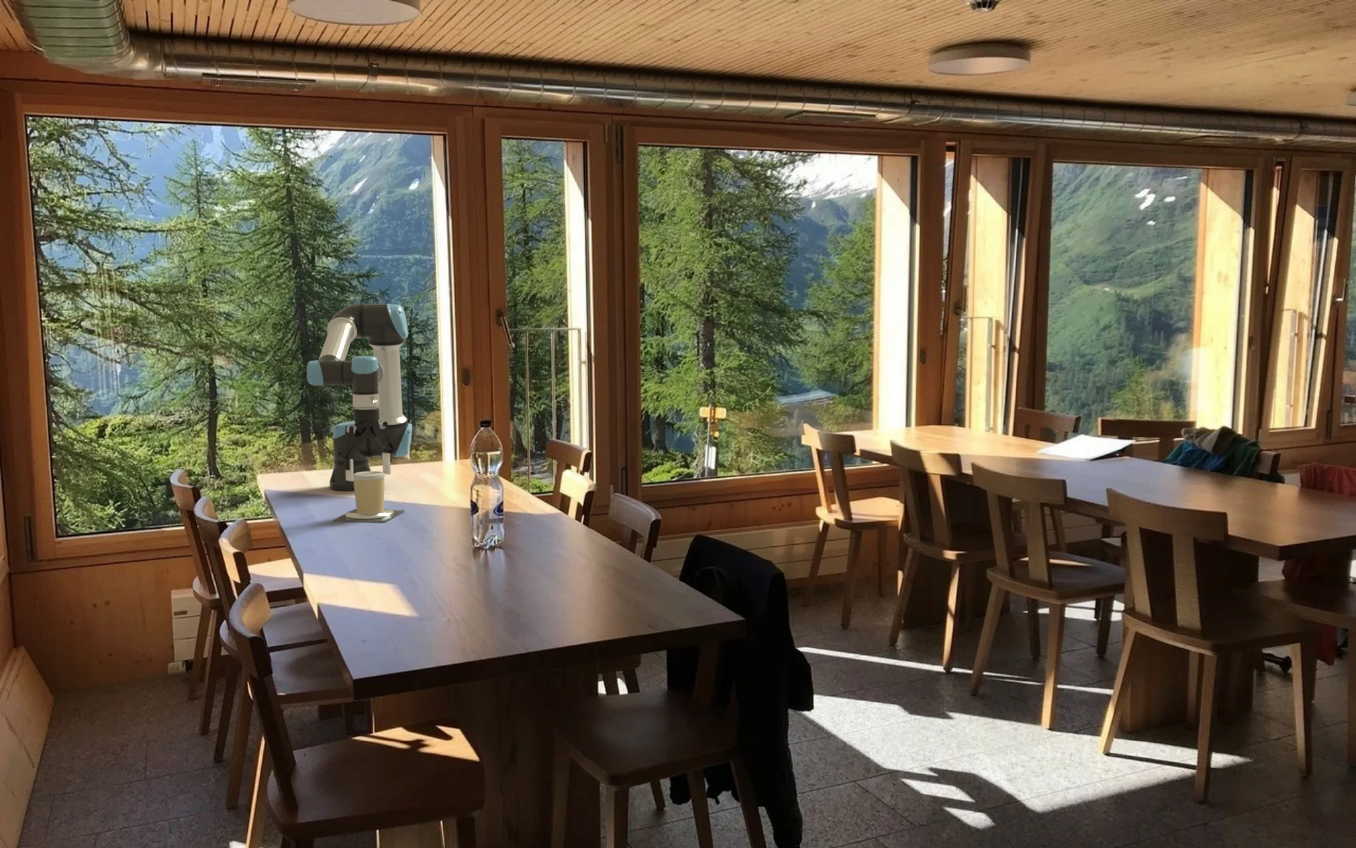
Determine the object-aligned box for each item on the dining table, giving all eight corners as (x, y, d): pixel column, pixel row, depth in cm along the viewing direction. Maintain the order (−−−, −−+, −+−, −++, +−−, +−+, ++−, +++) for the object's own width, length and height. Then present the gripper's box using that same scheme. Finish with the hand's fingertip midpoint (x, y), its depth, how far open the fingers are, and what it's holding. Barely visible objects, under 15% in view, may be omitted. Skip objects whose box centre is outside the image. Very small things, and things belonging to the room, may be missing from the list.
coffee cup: (373, 508, 325) (371, 470, 324) (392, 511, 320) (391, 473, 318) (347, 513, 318) (346, 474, 316) (367, 516, 312) (365, 477, 311)
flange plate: (355, 510, 327) (355, 506, 327) (404, 511, 326) (404, 508, 326) (333, 521, 312) (333, 517, 311) (385, 522, 310) (384, 518, 310)
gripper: (338, 412, 303) (341, 485, 306) (407, 404, 323) (409, 472, 326) (322, 410, 307) (325, 482, 310) (391, 403, 327) (393, 469, 330)
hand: (368, 477), depth 318 cm, fingers open, 13 cm apart
